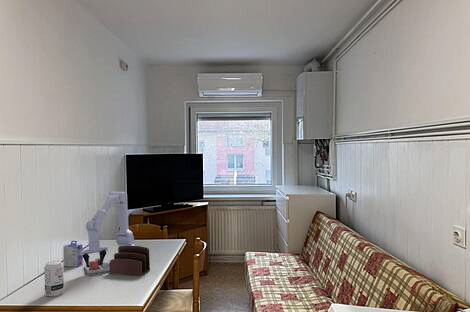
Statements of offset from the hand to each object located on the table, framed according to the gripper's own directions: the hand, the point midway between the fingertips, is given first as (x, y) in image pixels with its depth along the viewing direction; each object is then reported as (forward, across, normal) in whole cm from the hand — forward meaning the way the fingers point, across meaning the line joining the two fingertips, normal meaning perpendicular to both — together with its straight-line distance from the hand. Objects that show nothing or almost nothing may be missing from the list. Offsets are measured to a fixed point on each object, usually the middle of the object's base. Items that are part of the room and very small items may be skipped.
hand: (94, 265), depth 219 cm
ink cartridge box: (+4, +5, -23) cm, 24 cm away
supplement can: (+4, +26, +21) cm, 34 cm away
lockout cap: (+3, 0, 0) cm, 3 cm away
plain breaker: (+2, -6, -10) cm, 11 cm away
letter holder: (+4, -15, +13) cm, 20 cm away
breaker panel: (+4, -3, -4) cm, 7 cm away
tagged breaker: (+2, -1, -6) cm, 7 cm away
